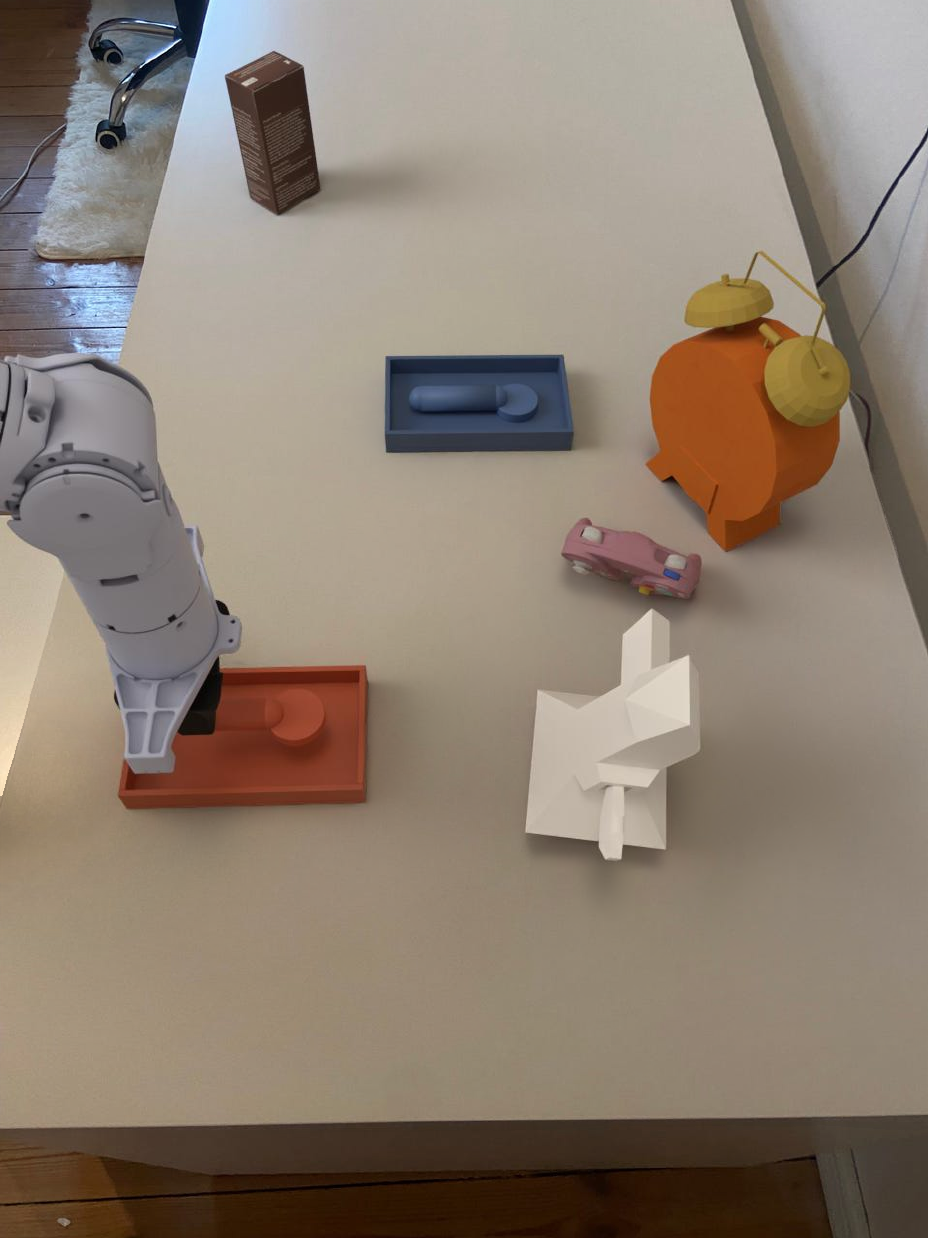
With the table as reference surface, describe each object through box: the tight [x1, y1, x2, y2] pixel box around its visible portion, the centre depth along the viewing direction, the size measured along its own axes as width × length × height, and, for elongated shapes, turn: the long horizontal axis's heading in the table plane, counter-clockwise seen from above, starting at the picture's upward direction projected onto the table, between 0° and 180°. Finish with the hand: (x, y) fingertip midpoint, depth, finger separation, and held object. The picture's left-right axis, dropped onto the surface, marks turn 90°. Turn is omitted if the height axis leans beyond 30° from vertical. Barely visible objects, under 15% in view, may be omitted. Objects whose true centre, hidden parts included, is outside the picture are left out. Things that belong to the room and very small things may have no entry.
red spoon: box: [214, 689, 326, 746], centre depth 59 cm, size 10×4×2 cm, turn 92°
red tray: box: [117, 664, 369, 810], centre depth 62 cm, size 15×9×2 cm, turn 92°
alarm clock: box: [645, 250, 851, 553], centre depth 67 cm, size 13×6×20 cm, turn 31°
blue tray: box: [384, 354, 575, 453], centre depth 78 cm, size 15×9×2 cm, turn 92°
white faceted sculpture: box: [525, 608, 701, 862], centre depth 56 cm, size 8×14×14 cm, turn 173°
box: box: [224, 50, 321, 215], centre depth 90 cm, size 6×4×12 cm
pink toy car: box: [560, 517, 703, 599], centre depth 68 cm, size 10×5×7 cm, turn 68°
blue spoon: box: [409, 384, 538, 422], centre depth 78 cm, size 10×4×2 cm, turn 92°
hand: (199, 712), depth 59 cm, fingers closed on red spoon, 2 cm apart
